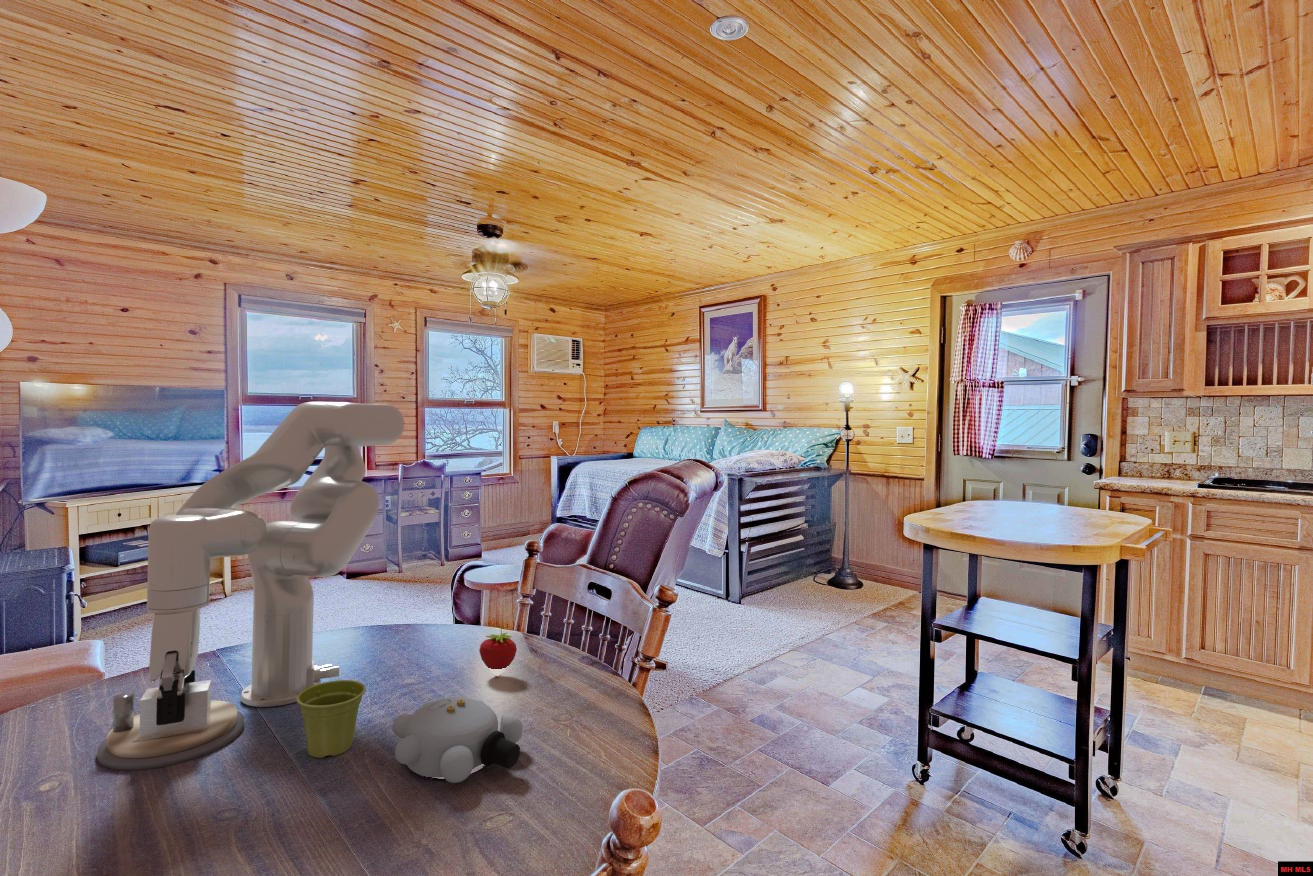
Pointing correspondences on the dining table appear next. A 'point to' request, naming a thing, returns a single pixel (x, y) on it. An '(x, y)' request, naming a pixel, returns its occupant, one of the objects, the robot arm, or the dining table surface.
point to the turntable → (128, 729)
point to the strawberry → (498, 651)
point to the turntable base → (169, 759)
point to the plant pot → (330, 716)
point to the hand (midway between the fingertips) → (176, 709)
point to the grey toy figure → (456, 738)
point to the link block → (194, 712)
